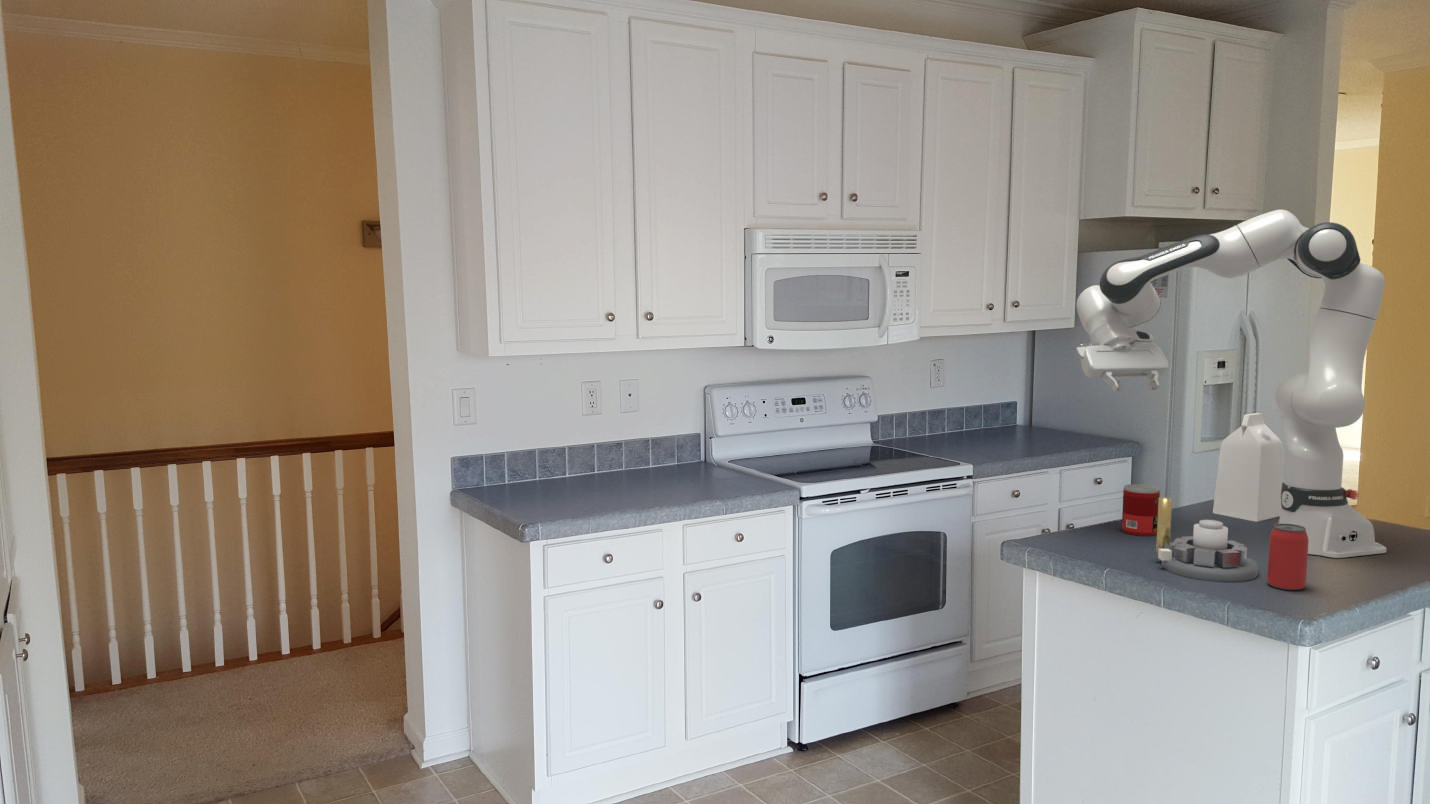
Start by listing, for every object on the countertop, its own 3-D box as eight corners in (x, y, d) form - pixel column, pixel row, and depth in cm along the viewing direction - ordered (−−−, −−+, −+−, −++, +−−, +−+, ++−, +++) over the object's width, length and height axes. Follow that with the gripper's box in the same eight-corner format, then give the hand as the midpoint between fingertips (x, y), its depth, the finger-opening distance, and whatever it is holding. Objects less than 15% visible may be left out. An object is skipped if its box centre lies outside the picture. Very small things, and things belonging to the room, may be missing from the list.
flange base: (1222, 555, 219) (1225, 511, 218) (1277, 579, 201) (1280, 531, 200) (1140, 558, 217) (1142, 513, 216) (1188, 583, 199) (1190, 534, 198)
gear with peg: (1249, 555, 211) (1252, 501, 209) (1240, 571, 200) (1243, 513, 198) (1162, 544, 220) (1165, 492, 219) (1149, 558, 209) (1152, 503, 208)
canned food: (1161, 537, 236) (1163, 491, 234) (1125, 535, 237) (1127, 489, 236) (1153, 529, 243) (1155, 484, 242) (1118, 527, 245) (1120, 483, 243)
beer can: (1259, 581, 200) (1263, 523, 199) (1291, 580, 201) (1294, 522, 199) (1280, 591, 194) (1284, 531, 192) (1313, 590, 194) (1317, 530, 193)
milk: (1238, 507, 266) (1244, 410, 263) (1282, 515, 256) (1288, 414, 253) (1212, 512, 259) (1218, 413, 256) (1256, 521, 250) (1262, 418, 247)
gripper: (1079, 335, 233) (1101, 381, 224) (1158, 334, 236) (1182, 379, 228) (1068, 353, 237) (1089, 398, 229) (1145, 351, 241) (1169, 396, 233)
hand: (1136, 388), depth 229 cm, fingers open, 8 cm apart
